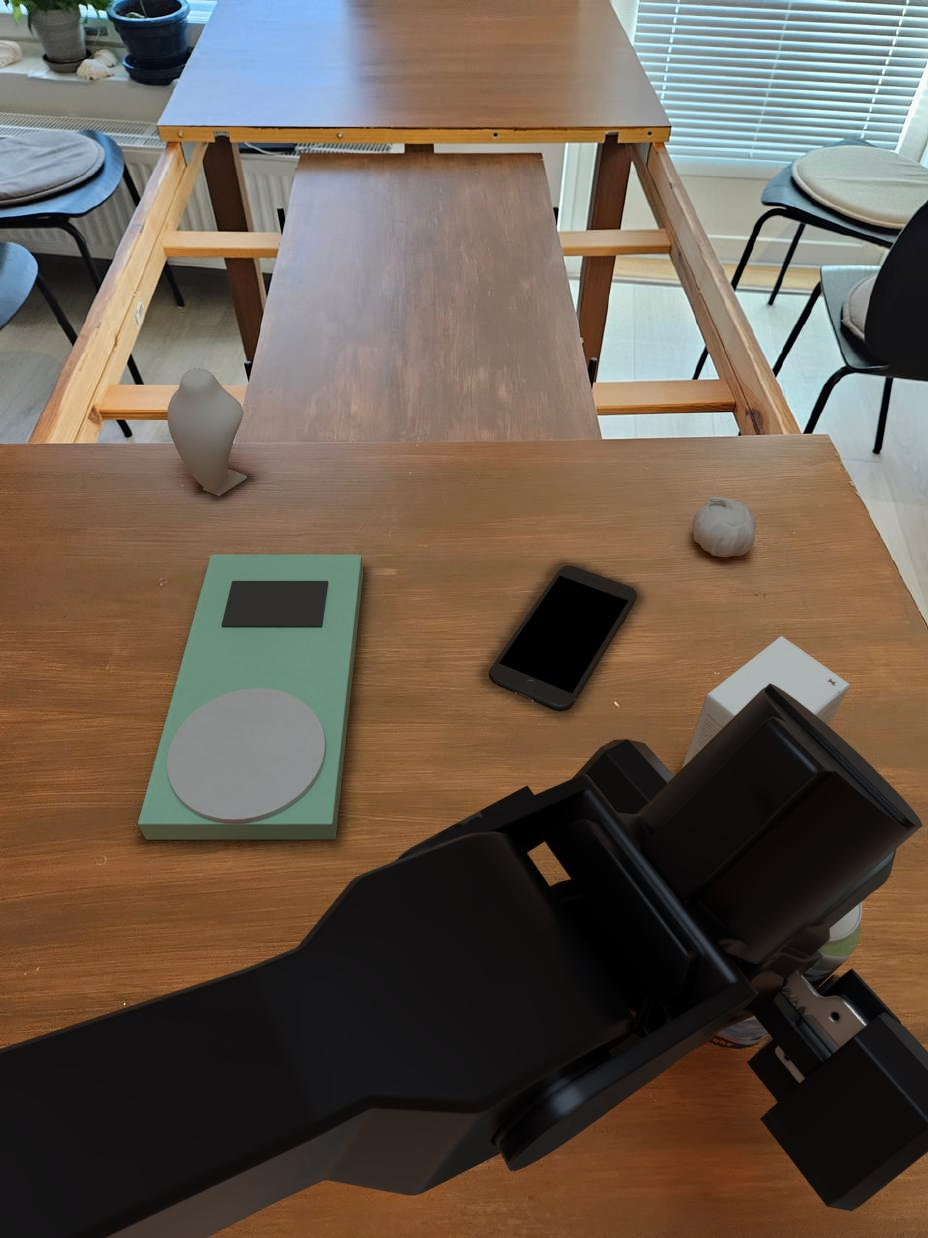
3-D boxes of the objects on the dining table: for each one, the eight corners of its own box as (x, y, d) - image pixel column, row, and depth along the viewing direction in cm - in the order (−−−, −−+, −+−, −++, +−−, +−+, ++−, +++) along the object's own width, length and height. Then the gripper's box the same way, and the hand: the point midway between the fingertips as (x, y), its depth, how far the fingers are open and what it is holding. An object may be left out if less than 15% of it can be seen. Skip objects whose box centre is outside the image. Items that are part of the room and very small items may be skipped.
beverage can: (637, 971, 48) (680, 863, 40) (745, 914, 51) (807, 801, 42) (708, 1083, 45) (773, 992, 36) (821, 1017, 47) (907, 915, 38)
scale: (335, 840, 61) (331, 819, 59) (145, 840, 61) (134, 819, 59) (363, 572, 78) (360, 549, 76) (215, 572, 78) (209, 548, 76)
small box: (744, 723, 68) (782, 631, 60) (806, 772, 65) (854, 682, 57) (674, 781, 64) (704, 691, 56) (735, 835, 61) (776, 749, 54)
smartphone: (482, 681, 71) (482, 674, 70) (562, 566, 80) (563, 559, 79) (567, 719, 68) (568, 712, 68) (640, 596, 77) (642, 589, 77)
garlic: (673, 538, 82) (683, 494, 78) (716, 517, 84) (728, 473, 80) (719, 577, 78) (733, 533, 74) (763, 554, 80) (778, 509, 76)
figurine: (172, 487, 86) (138, 379, 77) (207, 458, 89) (179, 350, 80) (233, 512, 84) (206, 404, 75) (268, 480, 87) (246, 373, 78)
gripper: (1077, 1059, 24) (1095, 990, 36) (629, 619, 34) (761, 681, 46) (783, 1292, 27) (892, 1154, 39) (453, 819, 37) (621, 828, 49)
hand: (784, 931), depth 43 cm, fingers closed on beverage can, 6 cm apart
